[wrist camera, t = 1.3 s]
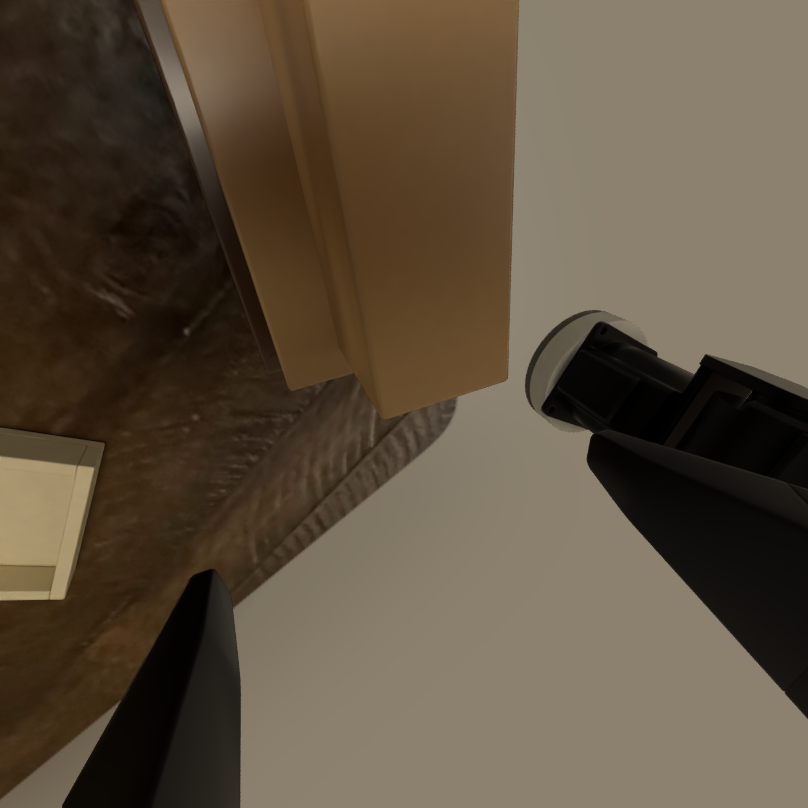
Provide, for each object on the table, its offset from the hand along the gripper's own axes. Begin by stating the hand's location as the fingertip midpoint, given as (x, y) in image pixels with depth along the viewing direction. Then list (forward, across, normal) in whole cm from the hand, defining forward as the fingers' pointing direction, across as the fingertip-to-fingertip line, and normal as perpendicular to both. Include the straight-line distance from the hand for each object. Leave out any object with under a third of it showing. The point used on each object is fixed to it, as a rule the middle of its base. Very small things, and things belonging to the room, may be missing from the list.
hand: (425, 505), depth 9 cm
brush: (+3, 0, -6) cm, 7 cm away
